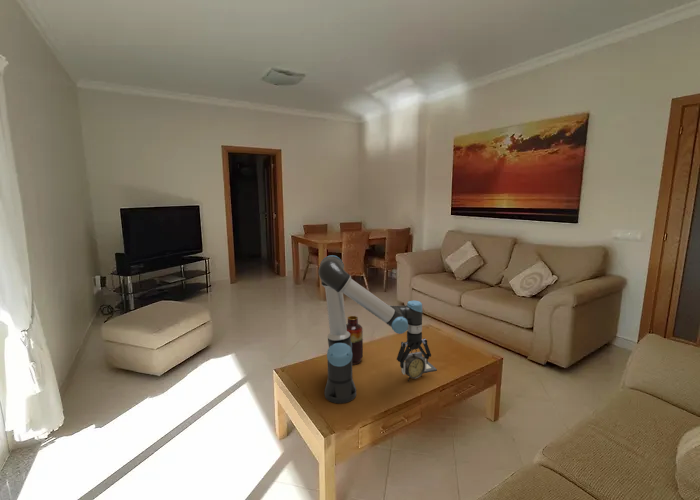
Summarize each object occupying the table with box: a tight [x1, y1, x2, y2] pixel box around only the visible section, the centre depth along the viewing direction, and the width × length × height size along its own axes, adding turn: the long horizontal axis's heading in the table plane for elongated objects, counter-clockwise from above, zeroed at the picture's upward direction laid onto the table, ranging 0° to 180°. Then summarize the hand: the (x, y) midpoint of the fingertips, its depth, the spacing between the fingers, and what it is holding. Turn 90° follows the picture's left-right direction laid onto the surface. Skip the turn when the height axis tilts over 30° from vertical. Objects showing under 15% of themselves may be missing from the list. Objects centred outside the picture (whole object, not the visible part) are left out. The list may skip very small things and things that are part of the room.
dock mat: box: [404, 351, 438, 374], centre depth 189 cm, size 11×18×3 cm, turn 17°
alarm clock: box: [404, 349, 425, 382], centre depth 173 cm, size 11×5×16 cm, turn 117°
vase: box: [346, 315, 364, 366], centre depth 192 cm, size 11×11×26 cm
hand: (413, 371), depth 174 cm, fingers closed on alarm clock, 11 cm apart
